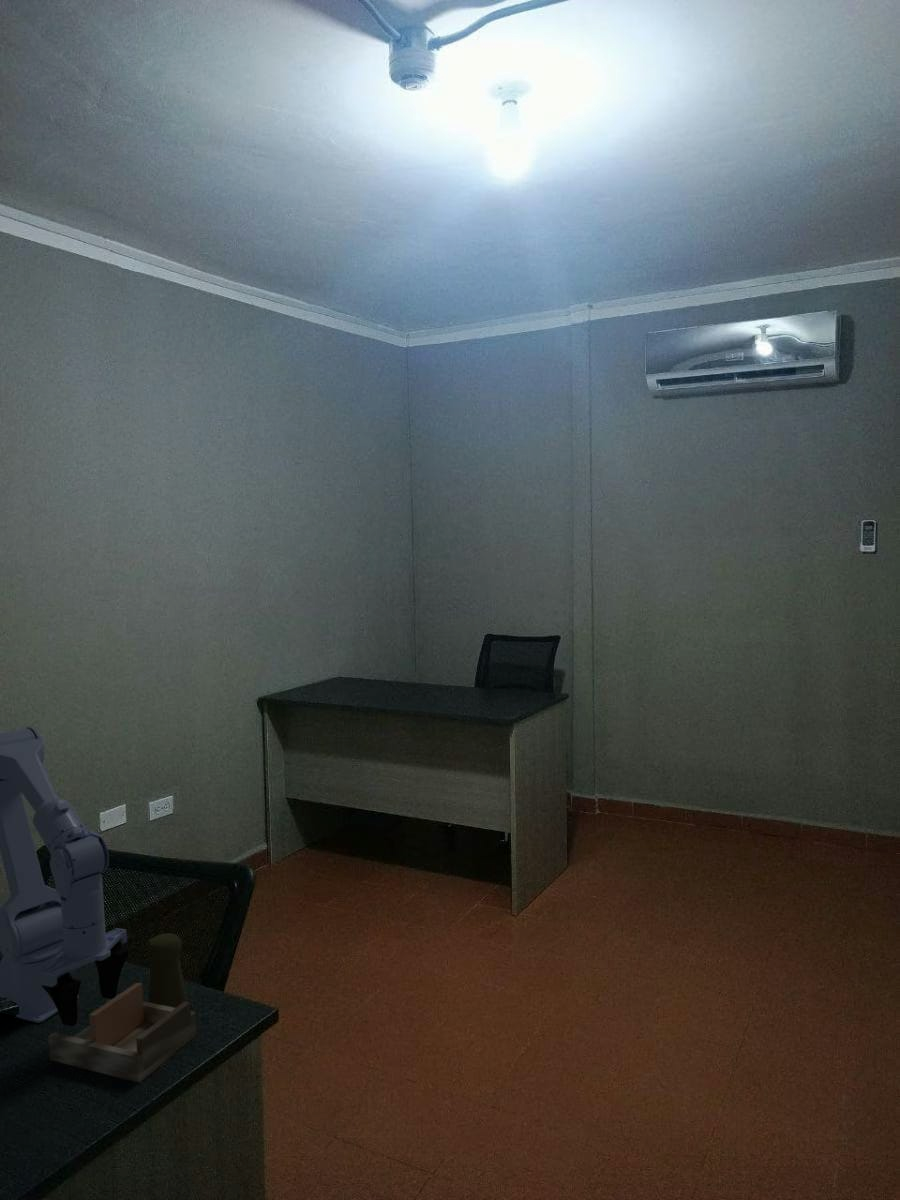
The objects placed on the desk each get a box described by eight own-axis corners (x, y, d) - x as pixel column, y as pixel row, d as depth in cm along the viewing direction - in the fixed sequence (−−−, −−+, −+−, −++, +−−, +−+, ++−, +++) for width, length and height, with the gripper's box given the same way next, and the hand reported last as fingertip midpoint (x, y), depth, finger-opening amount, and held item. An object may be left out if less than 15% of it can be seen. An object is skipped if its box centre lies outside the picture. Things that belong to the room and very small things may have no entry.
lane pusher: (91, 1055, 123) (89, 1014, 122) (139, 1020, 131) (136, 982, 131) (97, 1056, 122) (94, 1016, 122) (144, 1021, 131) (142, 983, 131)
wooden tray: (50, 1059, 124) (47, 1022, 124) (112, 1016, 135) (110, 981, 135) (139, 1082, 118) (136, 1043, 118) (196, 1035, 129) (194, 999, 129)
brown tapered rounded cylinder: (175, 1016, 134) (171, 947, 134) (139, 1013, 136) (135, 945, 135) (194, 996, 140) (190, 929, 140) (160, 993, 142) (156, 927, 141)
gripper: (65, 946, 120) (71, 1042, 120) (140, 904, 133) (145, 990, 134) (27, 939, 122) (33, 1032, 123) (104, 898, 136) (109, 983, 137)
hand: (89, 1010), depth 129 cm, fingers open, 7 cm apart
